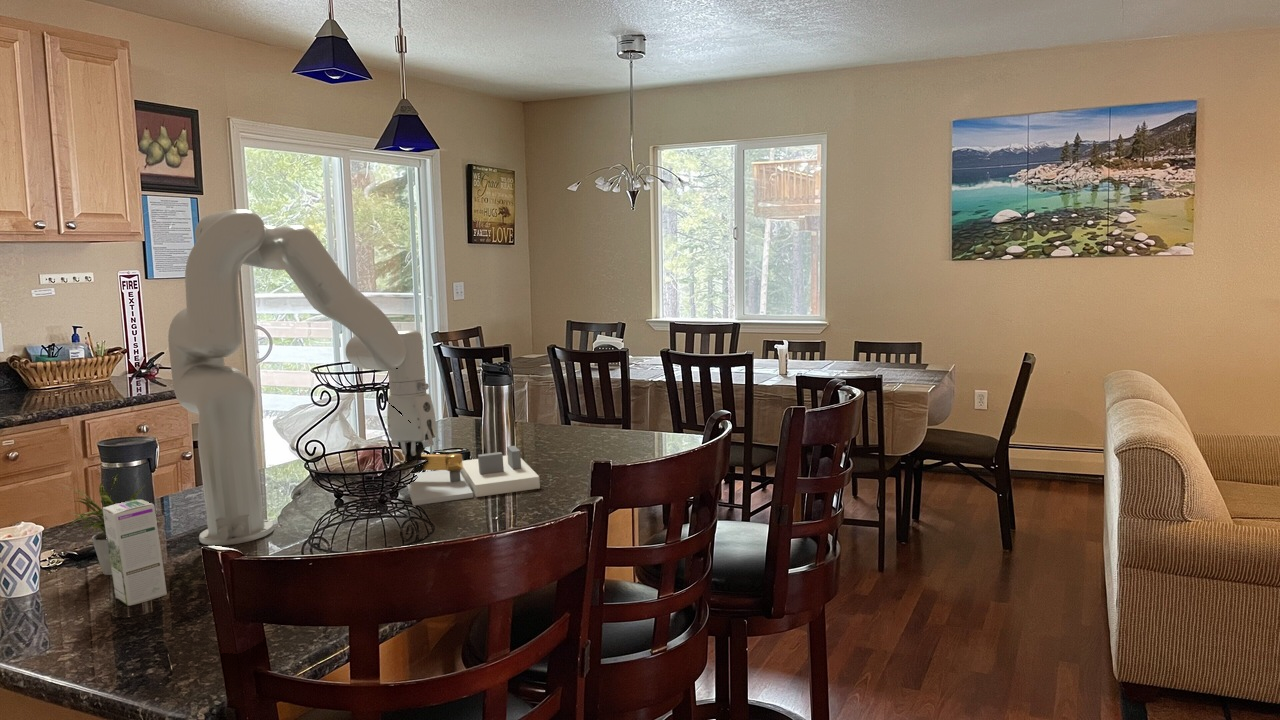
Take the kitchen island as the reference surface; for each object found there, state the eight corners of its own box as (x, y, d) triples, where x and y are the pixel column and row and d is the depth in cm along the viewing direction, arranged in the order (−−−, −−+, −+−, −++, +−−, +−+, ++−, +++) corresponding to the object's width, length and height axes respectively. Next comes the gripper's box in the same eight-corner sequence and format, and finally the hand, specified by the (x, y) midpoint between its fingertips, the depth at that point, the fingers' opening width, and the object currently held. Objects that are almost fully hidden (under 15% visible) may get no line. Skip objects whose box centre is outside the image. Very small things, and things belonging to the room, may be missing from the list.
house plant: (56, 571, 149) (43, 476, 147) (146, 549, 158) (135, 459, 156) (78, 591, 138) (65, 489, 137) (173, 565, 148) (161, 470, 146)
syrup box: (168, 594, 135) (157, 502, 133) (126, 607, 131) (113, 512, 129) (154, 586, 139) (143, 497, 137) (112, 599, 134) (100, 506, 133)
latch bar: (465, 467, 193) (464, 453, 192) (458, 471, 189) (457, 457, 189) (411, 466, 196) (410, 453, 195) (404, 470, 192) (402, 457, 192)
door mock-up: (540, 488, 186) (538, 458, 185) (413, 505, 177) (410, 474, 177) (517, 464, 208) (515, 437, 207) (404, 478, 200) (401, 450, 199)
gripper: (447, 386, 189) (453, 470, 191) (393, 384, 195) (399, 466, 197) (423, 391, 182) (430, 478, 184) (368, 390, 189) (376, 474, 191)
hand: (414, 472), depth 191 cm, fingers closed
